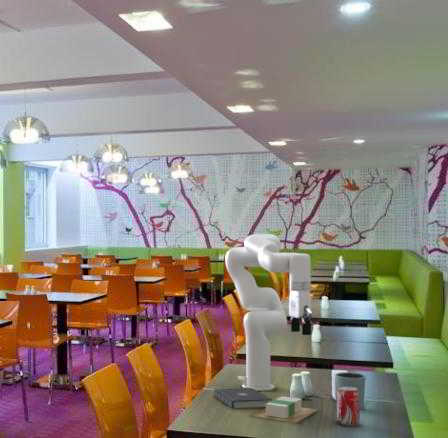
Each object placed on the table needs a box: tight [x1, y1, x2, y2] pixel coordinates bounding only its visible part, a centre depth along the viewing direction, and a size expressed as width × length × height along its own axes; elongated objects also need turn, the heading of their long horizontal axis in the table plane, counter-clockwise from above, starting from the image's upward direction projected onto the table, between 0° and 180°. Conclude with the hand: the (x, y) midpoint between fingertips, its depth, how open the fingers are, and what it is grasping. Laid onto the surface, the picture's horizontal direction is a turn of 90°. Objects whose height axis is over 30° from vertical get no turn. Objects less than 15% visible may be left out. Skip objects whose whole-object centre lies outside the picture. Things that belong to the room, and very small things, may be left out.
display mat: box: [251, 407, 318, 423], centre depth 274 cm, size 16×22×1 cm
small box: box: [331, 369, 349, 401], centre depth 296 cm, size 8×6×10 cm
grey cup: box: [336, 371, 367, 411], centre depth 282 cm, size 10×10×12 cm
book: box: [213, 387, 273, 410], centre depth 291 cm, size 22×15×3 cm
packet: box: [266, 395, 303, 418], centre depth 273 cm, size 7×16×4 cm, turn 143°
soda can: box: [336, 386, 360, 427], centre depth 260 cm, size 7×7×12 cm
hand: (300, 333), depth 286 cm, fingers open, 9 cm apart
